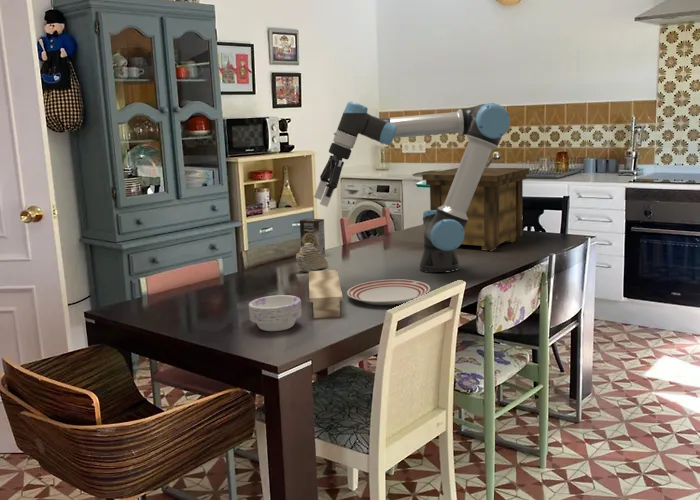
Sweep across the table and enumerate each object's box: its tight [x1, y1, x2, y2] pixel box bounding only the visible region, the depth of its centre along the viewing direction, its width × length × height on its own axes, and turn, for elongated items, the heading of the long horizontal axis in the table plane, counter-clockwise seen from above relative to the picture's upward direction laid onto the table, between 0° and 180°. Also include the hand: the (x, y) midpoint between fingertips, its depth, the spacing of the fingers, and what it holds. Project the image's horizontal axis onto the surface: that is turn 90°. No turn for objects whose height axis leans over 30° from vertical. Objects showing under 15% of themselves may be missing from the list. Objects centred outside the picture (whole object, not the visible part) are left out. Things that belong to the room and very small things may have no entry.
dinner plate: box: [346, 278, 431, 306], centre depth 229 cm, size 27×27×3 cm
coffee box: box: [299, 218, 326, 257], centre depth 301 cm, size 9×6×16 cm
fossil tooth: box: [295, 243, 329, 273], centre depth 274 cm, size 12×6×15 cm
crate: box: [421, 167, 531, 250], centre depth 310 cm, size 35×35×33 cm
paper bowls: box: [248, 294, 303, 332], centre depth 202 cm, size 15×15×8 cm
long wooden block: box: [308, 269, 344, 319], centre depth 227 cm, size 10×37×6 cm, turn 4°
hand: (320, 201), depth 246 cm, fingers open, 13 cm apart
